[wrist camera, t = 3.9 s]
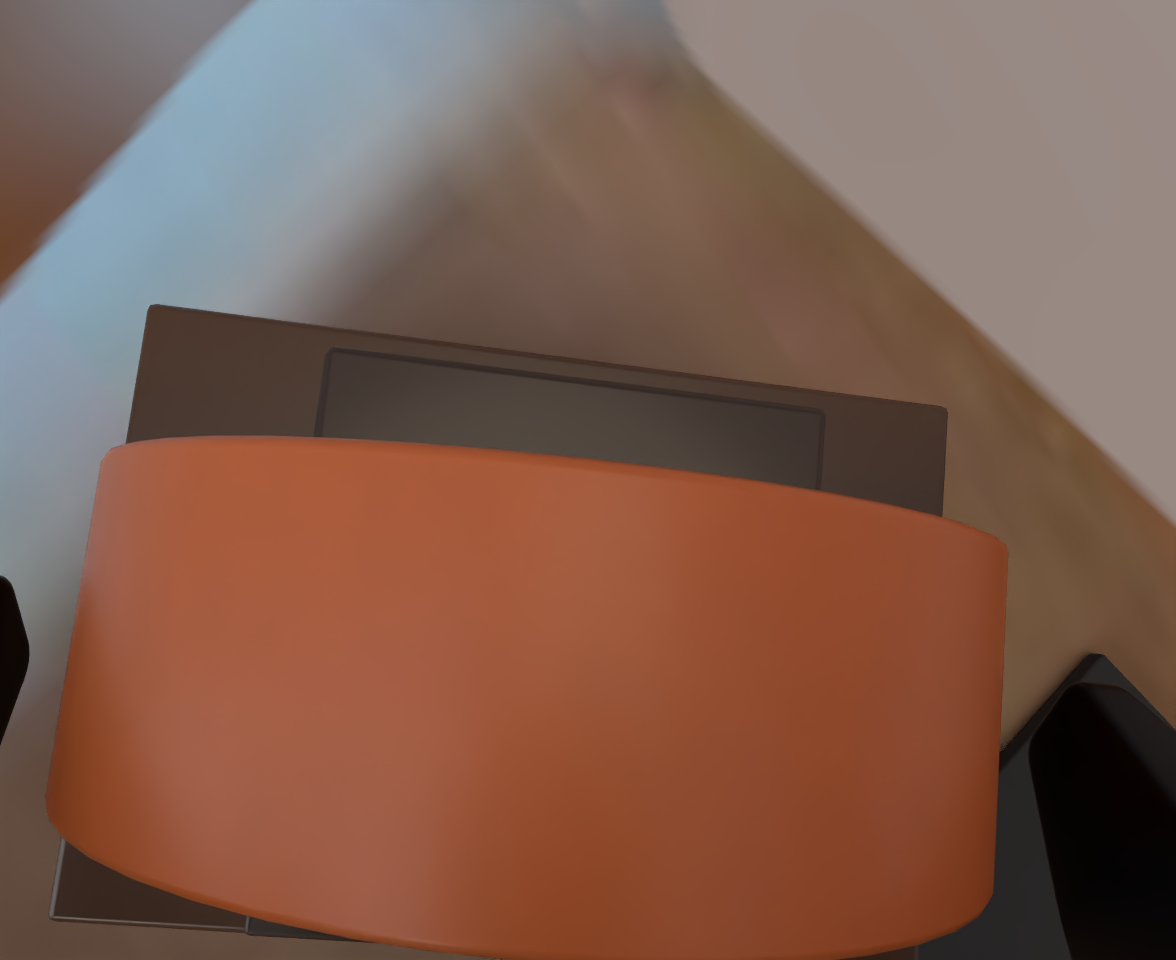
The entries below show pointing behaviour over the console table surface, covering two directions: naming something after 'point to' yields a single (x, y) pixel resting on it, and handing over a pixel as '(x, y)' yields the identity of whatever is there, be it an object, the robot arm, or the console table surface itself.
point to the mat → (1022, 856)
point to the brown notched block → (498, 421)
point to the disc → (532, 701)
